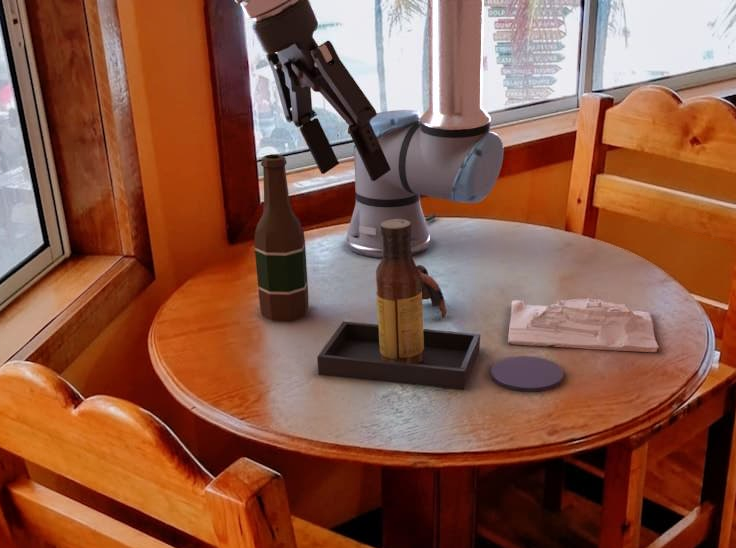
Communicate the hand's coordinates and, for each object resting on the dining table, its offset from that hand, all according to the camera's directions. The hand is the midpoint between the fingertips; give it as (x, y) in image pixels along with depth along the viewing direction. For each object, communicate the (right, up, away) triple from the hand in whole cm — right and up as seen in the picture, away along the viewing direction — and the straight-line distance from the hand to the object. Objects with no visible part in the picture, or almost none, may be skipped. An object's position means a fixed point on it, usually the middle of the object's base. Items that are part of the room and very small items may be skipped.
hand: (354, 172), depth 127 cm
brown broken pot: (+8, -13, +28) cm, 32 cm away
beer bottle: (-13, -13, +27) cm, 33 cm away
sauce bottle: (+6, -23, +12) cm, 27 cm away
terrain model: (+33, -17, +22) cm, 43 cm away
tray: (+6, -23, +12) cm, 27 cm away
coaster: (+23, -25, +9) cm, 36 cm away
